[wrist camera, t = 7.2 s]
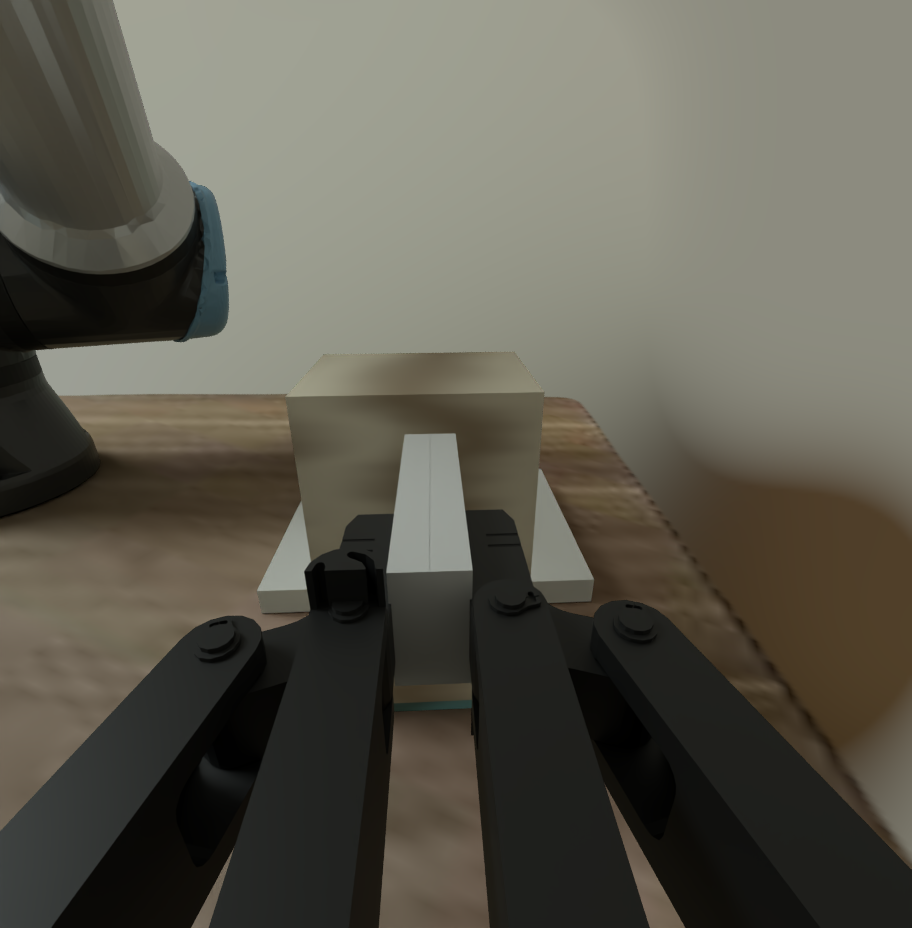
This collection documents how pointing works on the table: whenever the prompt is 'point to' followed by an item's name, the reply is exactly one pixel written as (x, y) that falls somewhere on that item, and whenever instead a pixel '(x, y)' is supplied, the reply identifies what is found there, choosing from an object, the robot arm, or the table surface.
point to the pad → (551, 571)
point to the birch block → (381, 443)
